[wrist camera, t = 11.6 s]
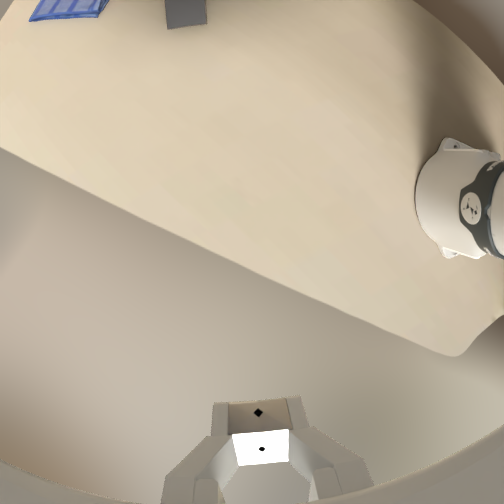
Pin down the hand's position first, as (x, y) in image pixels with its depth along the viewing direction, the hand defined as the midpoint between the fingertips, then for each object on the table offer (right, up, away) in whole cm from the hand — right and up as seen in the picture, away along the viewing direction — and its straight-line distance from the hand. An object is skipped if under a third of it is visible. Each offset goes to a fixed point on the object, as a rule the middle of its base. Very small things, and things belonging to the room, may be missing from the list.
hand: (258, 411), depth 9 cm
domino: (-9, +35, +20) cm, 41 cm away
